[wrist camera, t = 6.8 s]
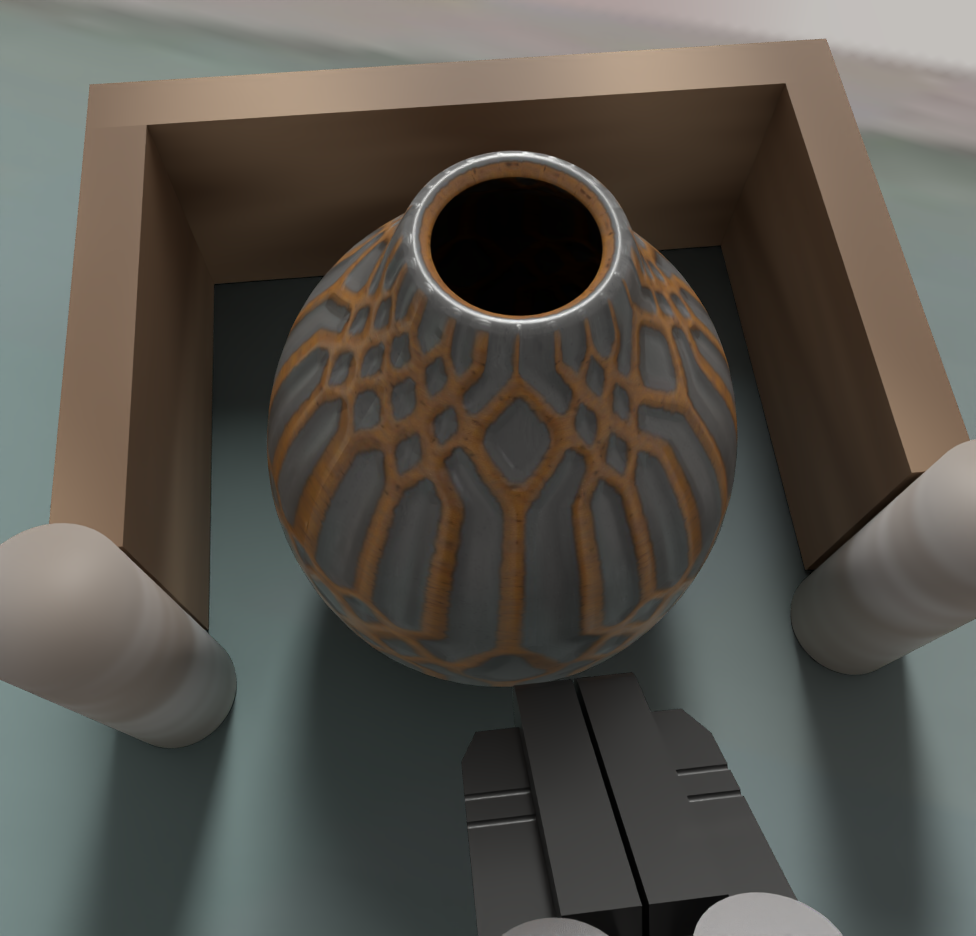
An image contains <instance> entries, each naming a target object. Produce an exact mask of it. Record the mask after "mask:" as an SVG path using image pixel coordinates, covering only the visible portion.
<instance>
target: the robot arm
mask: <svg viewBox="0 0 976 936" xmlns="http://www.w3.org/2000/svg"><path fill="white" fill-rule="evenodd" d="M513 708H514V723H515V728H506V729H497V730H488V731H479V732H476V733H475V735H474V737H473V739H472V741H471V743H470V745H469V747H468V749H467V751H466V753H465V755H464V757H463V759H462V761H461V764H462V774H463V785H464V796H465V806H466V817H467V828H468V838H469V849H470V860H471V870H472V880H473V891H474V901H475V911H476V922H477V932H478V936H843V935H842V934H841V932H840V931H839V930H838V929H837V928H836V927H835V926H834V925H833V924H832V923H831V922H830V921H829V920H828V919H827V918H826V917H824V916H823V915H822V914H820V913H819V912H818V911H816V910H814V909H813V908H811V907H809V906H807V905H806V904H804V903H801V902H799V901H798V900H797V898H796V897H795V895H794V893H793V891H792V889H791V887H790V885H789V883H788V881H787V879H786V878H785V876H784V874H783V872H782V870H781V868H780V866H779V864H778V862H777V860H776V858H775V856H774V854H773V852H772V850H771V848H770V846H769V844H768V842H767V840H766V839H765V837H764V835H763V833H762V831H761V829H760V827H759V825H758V823H757V821H756V819H755V817H754V815H753V813H752V811H751V809H750V807H749V805H748V803H747V801H746V800H745V798H744V796H741V792H740V788H739V786H738V784H737V782H736V780H735V778H734V776H733V774H732V772H731V770H728V767H727V762H726V760H725V759H724V757H723V755H722V753H721V751H720V749H719V747H718V745H717V743H716V741H715V739H714V737H713V735H712V733H711V732H710V731H708V730H707V729H706V728H705V727H703V726H702V725H701V724H700V723H698V722H697V721H696V720H695V719H693V718H692V717H691V716H690V715H689V714H687V713H686V712H685V711H684V710H682V709H673V710H664V711H655V712H651V711H650V709H649V706H648V704H647V702H646V699H645V697H644V695H643V692H642V690H641V688H640V685H639V683H638V681H637V679H636V676H635V675H634V673H632V672H630V673H621V674H612V675H603V676H594V677H585V678H576V679H574V682H573V683H572V681H571V679H569V680H559V681H550V682H541V683H532V684H523V685H514V686H513Z"/></svg>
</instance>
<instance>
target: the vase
mask: <svg viewBox="0 0 976 936" xmlns="http://www.w3.org/2000/svg"><path fill="white" fill-rule="evenodd" d="M736 456H737V417H736V404H735V397H734V390H733V384H732V379H731V375H730V370H729V366H728V362H727V359H726V356H725V353H724V350H723V347H722V344H721V342H720V339H719V337H718V334H717V332H716V329H715V327H714V325H713V323H712V321H711V319H710V317H709V315H708V313H707V311H706V309H705V308H704V306H703V304H702V303H701V301H700V300H699V298H698V297H697V295H696V294H695V292H694V291H693V289H692V288H691V287H690V285H689V284H688V283H687V281H686V280H685V279H684V277H683V276H682V275H681V274H680V273H679V271H678V270H677V269H676V268H675V267H674V266H673V265H672V264H671V263H670V262H669V261H668V260H667V259H666V258H665V257H664V256H663V255H662V254H661V253H660V252H659V251H658V250H657V249H655V248H654V247H653V246H652V245H651V244H650V243H648V242H647V241H646V240H645V239H643V238H642V237H641V236H639V235H638V234H637V233H635V232H634V231H633V230H632V228H631V226H630V223H629V221H628V219H627V217H626V215H625V213H624V211H623V209H622V208H621V206H620V204H619V203H618V201H617V200H616V199H615V197H614V196H613V195H612V193H611V192H610V191H609V190H608V189H607V188H606V187H605V186H604V185H603V184H602V183H601V182H600V181H598V180H597V179H596V178H595V177H593V176H592V175H591V174H589V173H588V172H586V171H585V170H583V169H581V168H579V167H578V166H576V165H574V164H572V163H569V162H567V161H565V160H562V159H559V158H556V157H553V156H550V155H546V154H541V153H536V152H528V151H499V152H492V153H486V154H482V155H478V156H474V157H471V158H468V159H466V160H463V161H460V162H458V163H456V164H454V165H452V166H450V167H449V168H447V169H445V170H444V171H442V172H441V173H439V174H438V175H436V176H435V177H434V178H433V179H431V180H430V181H429V182H428V183H427V184H426V185H425V186H424V187H423V188H422V189H421V190H420V192H419V193H418V194H417V195H416V197H415V198H414V199H413V201H412V202H411V204H410V205H409V207H408V208H407V210H406V212H405V213H404V214H402V215H400V216H398V217H396V218H395V219H393V220H391V221H389V222H388V223H386V224H384V225H383V226H381V227H380V228H378V229H377V230H375V231H374V232H372V233H371V234H369V235H368V236H366V237H365V238H364V239H362V240H361V241H360V242H358V243H357V244H356V245H355V246H353V247H352V248H351V249H350V250H349V251H348V252H347V253H346V254H345V255H344V256H343V257H342V258H341V259H340V260H339V261H338V262H337V263H336V264H335V265H334V266H333V267H332V268H331V269H330V270H329V271H328V272H327V273H326V275H325V276H324V277H323V278H322V279H321V281H320V282H319V283H318V284H317V286H316V287H315V289H314V290H313V291H312V293H311V294H310V296H309V297H308V299H307V301H306V302H305V304H304V306H303V308H302V309H301V311H300V313H299V315H298V316H297V318H296V320H295V322H294V324H293V326H292V328H291V331H290V333H289V335H288V337H287V340H286V343H285V346H284V348H283V351H282V354H281V357H280V360H279V363H278V367H277V370H276V374H275V378H274V383H273V388H272V394H271V399H270V405H269V415H268V427H267V458H268V469H269V477H270V484H271V490H272V495H273V500H274V503H275V507H276V511H277V514H278V517H279V520H280V523H281V525H282V528H283V531H284V533H285V536H286V538H287V541H288V543H289V545H290V547H291V550H292V552H293V554H294V556H295V558H296V560H297V561H298V563H299V565H300V567H301V568H302V570H303V572H304V573H305V575H306V577H307V578H308V580H309V581H310V583H311V584H312V586H313V587H314V589H315V590H316V591H317V593H318V594H319V595H320V597H321V598H322V599H323V600H324V602H325V603H326V604H327V605H328V606H329V608H330V609H331V610H332V611H333V612H334V613H335V614H336V615H337V616H338V617H339V618H340V619H341V620H342V621H343V622H344V623H345V624H346V625H347V626H348V627H349V628H350V629H351V630H352V631H353V632H354V633H355V634H357V635H358V636H359V637H360V638H361V639H362V640H364V641H365V642H366V643H368V644H369V645H371V646H372V647H373V648H375V649H376V650H378V651H379V652H381V653H383V654H384V655H386V656H387V657H389V658H391V659H393V660H395V661H397V662H398V663H400V664H402V665H404V666H406V667H409V668H411V669H414V670H416V671H419V672H421V673H423V674H427V675H430V676H433V677H436V678H439V679H443V680H447V681H452V682H456V683H461V684H468V685H475V686H488V687H513V686H514V685H523V684H532V683H541V682H550V681H553V680H557V679H561V678H565V677H568V676H571V675H574V674H577V673H580V672H582V671H584V670H587V669H589V668H591V667H594V666H596V665H598V664H600V663H602V662H604V661H605V660H607V659H609V658H611V657H613V656H614V655H616V654H617V653H619V652H620V651H622V650H624V649H625V648H627V647H628V646H629V645H631V644H632V643H633V642H635V641H636V640H637V639H639V638H640V637H641V636H642V635H644V634H645V633H646V632H648V631H649V630H650V629H651V628H652V627H653V626H654V625H655V624H656V623H657V622H659V621H660V620H661V619H662V618H663V617H664V615H665V614H666V613H667V612H668V611H669V610H670V609H671V608H672V607H673V606H674V604H675V603H676V602H677V601H678V600H679V599H680V598H681V596H682V595H683V594H684V593H685V591H686V590H687V589H688V587H689V586H690V585H691V583H692V582H693V580H694V579H695V577H696V575H697V574H698V572H699V571H700V569H701V568H702V566H703V564H704V562H705V561H706V559H707V557H708V555H709V553H710V551H711V550H712V548H713V546H714V544H715V542H716V539H717V537H718V534H719V532H720V529H721V527H722V524H723V521H724V517H725V514H726V511H727V507H728V504H729V500H730V496H731V492H732V487H733V482H734V474H735V466H736Z"/></svg>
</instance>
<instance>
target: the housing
mask: <svg viewBox="0 0 976 936" xmlns="http://www.w3.org/2000/svg"><path fill="white" fill-rule="evenodd" d="M499 151H528V152H536V153H541V154H546V155H550V156H553V157H556V158H559V159H562V160H565V161H567V162H569V163H572V164H574V165H576V166H578V167H579V168H581V169H583V170H585V171H586V172H588V173H589V174H591V175H592V176H593V177H595V178H596V179H597V180H598V181H600V182H601V183H602V184H603V185H604V186H605V187H606V188H607V189H608V190H609V191H610V192H611V193H612V195H613V196H614V197H615V199H616V200H617V201H618V203H619V204H620V206H621V208H622V209H623V211H624V213H625V215H626V217H627V219H628V221H629V223H630V226H631V228H632V230H633V231H634V232H635V233H637V234H638V235H639V236H641V237H642V238H643V239H645V240H646V241H647V242H648V243H650V244H651V245H652V246H653V247H654V248H655V249H657V250H666V249H679V248H692V247H705V246H718V245H721V248H722V252H723V256H724V260H725V263H726V267H727V271H728V275H729V279H730V283H731V287H732V290H733V294H734V298H735V302H736V306H737V310H738V313H739V317H740V321H741V325H742V329H743V333H744V337H745V340H746V344H747V348H748V352H749V356H750V360H751V363H752V367H753V371H754V375H755V379H756V383H757V386H758V390H759V394H760V398H761V402H762V406H763V410H764V413H765V417H766V421H767V425H768V429H769V433H770V436H771V440H772V444H773V448H774V452H775V456H776V460H777V463H778V467H779V471H780V475H781V479H782V483H783V486H784V490H785V494H786V498H787V502H788V506H789V509H790V513H791V517H792V521H793V525H794V529H795V533H796V536H797V540H798V544H799V548H800V552H801V556H802V559H803V563H804V567H805V570H814V569H816V570H815V571H813V572H812V573H811V574H810V575H809V576H808V577H807V578H806V579H805V580H803V581H802V583H801V584H800V585H799V586H798V588H797V590H796V591H795V594H794V596H793V599H792V603H791V621H792V626H793V629H794V632H795V635H796V637H797V639H798V641H799V642H800V644H801V646H802V647H803V648H804V650H805V651H806V652H807V653H808V654H809V655H810V656H811V657H812V658H813V659H814V660H816V661H817V662H818V663H820V664H821V665H823V666H824V667H826V668H828V669H830V670H833V671H836V672H839V673H843V674H850V675H861V674H866V673H870V672H873V671H875V670H877V669H879V668H881V667H883V666H885V665H887V664H889V663H891V662H893V661H895V660H897V659H898V658H900V657H902V656H904V655H906V654H908V653H910V652H912V651H914V650H916V649H918V648H920V647H922V646H924V645H926V644H928V643H930V642H931V641H933V640H935V639H937V638H939V637H941V636H943V635H945V634H947V633H949V632H951V631H953V630H955V629H957V628H959V627H961V626H962V625H964V624H966V623H968V622H970V621H972V620H974V619H976V440H971V441H970V439H969V436H968V433H967V431H966V428H965V425H964V422H963V419H962V417H961V414H960V411H959V408H958V405H957V403H956V400H955V397H954V394H953V392H952V389H951V386H950V383H949V380H948V378H947V375H946V372H945V369H944V366H943V364H942V361H941V358H940V355H939V352H938V350H937V347H936V344H935V341H934V338H933V336H932V333H931V330H930V327H929V324H928V322H927V319H926V316H925V313H924V311H923V308H922V305H921V302H920V299H919V297H918V294H917V291H916V288H915V285H914V283H913V280H912V277H911V274H910V271H909V269H908V266H907V263H906V260H905V257H904V255H903V252H902V249H901V246H900V244H899V241H898V238H897V235H896V232H895V230H894V227H893V224H892V221H891V218H890V216H889V213H888V210H887V207H886V204H885V202H884V199H883V196H882V193H881V190H880V188H879V185H878V182H877V179H876V176H875V174H874V171H873V168H872V165H871V163H870V160H869V157H868V154H867V151H866V149H865V146H864V143H863V140H862V137H861V135H860V132H859V129H858V126H857V123H856V121H855V118H854V115H853V112H852V109H851V107H850V104H849V101H848V98H847V96H846V93H845V90H844V87H843V84H842V82H841V79H840V76H839V73H838V70H837V68H836V65H835V62H834V59H833V56H832V54H831V51H830V48H829V45H828V42H827V40H826V39H814V40H797V41H781V42H765V43H749V44H733V45H717V46H701V47H685V48H669V49H653V50H637V51H621V52H605V53H589V54H573V55H557V56H541V57H525V58H509V59H492V60H476V61H460V62H444V63H428V64H412V65H396V66H380V67H364V68H348V69H332V70H316V71H300V72H284V73H268V74H252V75H236V76H220V77H204V78H188V79H171V80H155V81H139V82H123V83H107V84H91V85H90V87H89V98H88V109H87V120H86V131H85V142H84V152H83V163H82V174H81V185H80V196H79V206H78V217H77V228H76V239H75V250H74V261H73V271H72V282H71V293H70V304H69V315H68V326H67V336H66V347H65V358H64V369H63V380H62V390H61V401H60V412H59V423H58V434H57V445H56V455H55V466H54V477H53V488H52V499H51V510H50V520H49V524H47V525H42V526H38V527H34V528H31V529H28V530H26V531H23V532H21V533H19V534H17V535H15V536H13V537H11V538H10V539H8V540H7V541H5V542H4V543H2V544H1V545H0V680H2V681H5V682H7V683H9V684H12V685H14V686H16V687H19V688H21V689H23V690H25V691H28V692H30V693H32V694H35V695H37V696H39V697H42V698H44V699H46V700H49V701H51V702H53V703H56V704H58V705H60V706H63V707H65V708H67V709H70V710H72V711H74V712H77V713H79V714H81V715H83V716H86V717H88V718H90V719H93V720H95V721H97V722H100V723H102V724H104V725H107V726H109V727H111V728H114V729H116V730H118V731H121V732H123V733H125V734H128V735H130V736H132V737H134V738H137V739H139V740H141V741H144V742H146V743H148V744H151V745H153V746H157V747H161V748H179V747H185V746H188V745H191V744H194V743H196V742H198V741H200V740H202V739H204V738H205V737H207V736H208V735H210V734H211V733H212V732H213V731H214V730H215V729H216V728H217V727H219V725H220V724H221V723H222V722H223V720H224V719H225V718H226V716H227V714H228V713H229V711H230V709H231V707H232V704H233V701H234V698H235V693H236V683H237V682H236V673H235V668H234V665H233V662H232V660H231V658H230V656H229V655H228V653H227V652H226V651H225V649H224V648H223V647H222V646H221V645H220V644H219V643H218V642H217V641H216V640H215V639H214V638H212V637H211V636H210V635H209V634H208V633H207V632H206V631H205V630H209V569H210V507H211V444H212V382H213V320H214V284H220V283H233V282H246V281H259V280H272V279H285V278H299V277H312V276H325V275H326V273H327V272H328V271H329V270H330V269H331V268H332V267H333V266H334V265H335V264H336V263H337V262H338V261H339V260H340V259H341V258H342V257H343V256H344V255H345V254H346V253H347V252H348V251H349V250H350V249H351V248H352V247H353V246H355V245H356V244H357V243H358V242H360V241H361V240H362V239H364V238H365V237H366V236H368V235H369V234H371V233H372V232H374V231H375V230H377V229H378V228H380V227H381V226H383V225H384V224H386V223H388V222H389V221H391V220H393V219H395V218H396V217H398V216H400V215H402V214H404V213H405V212H406V210H407V208H408V207H409V205H410V204H411V202H412V201H413V199H414V198H415V197H416V195H417V194H418V193H419V192H420V190H421V189H422V188H423V187H424V186H425V185H426V184H427V183H428V182H429V181H430V180H431V179H433V178H434V177H435V176H436V175H438V174H439V173H441V172H442V171H444V170H445V169H447V168H449V167H450V166H452V165H454V164H456V163H458V162H460V161H463V160H466V159H468V158H471V157H474V156H478V155H482V154H486V153H492V152H499Z"/></svg>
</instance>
